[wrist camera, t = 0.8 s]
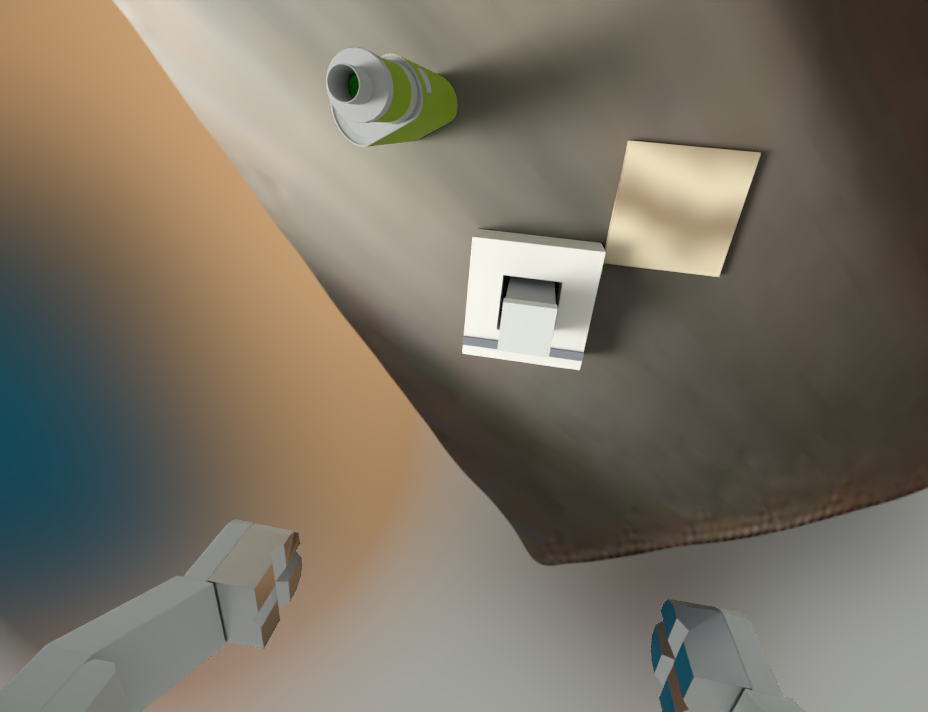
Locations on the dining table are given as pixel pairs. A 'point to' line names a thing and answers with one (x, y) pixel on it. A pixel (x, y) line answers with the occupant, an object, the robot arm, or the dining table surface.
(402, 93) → the vape
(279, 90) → the dining table surface
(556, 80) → the dining table surface
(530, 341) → the plug
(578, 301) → the white flat square piece
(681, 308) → the dining table surface
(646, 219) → the coaster
